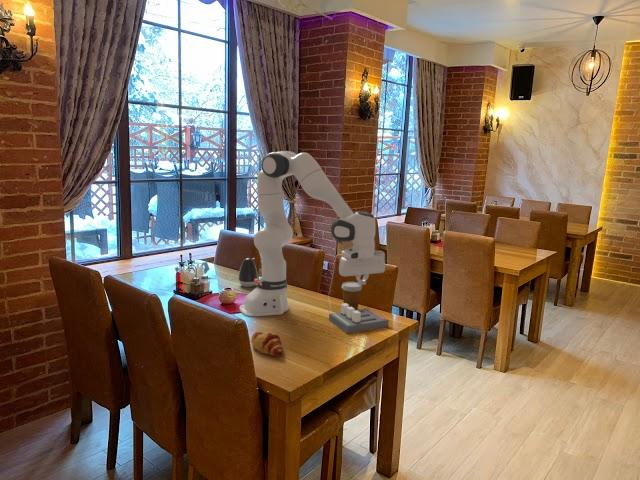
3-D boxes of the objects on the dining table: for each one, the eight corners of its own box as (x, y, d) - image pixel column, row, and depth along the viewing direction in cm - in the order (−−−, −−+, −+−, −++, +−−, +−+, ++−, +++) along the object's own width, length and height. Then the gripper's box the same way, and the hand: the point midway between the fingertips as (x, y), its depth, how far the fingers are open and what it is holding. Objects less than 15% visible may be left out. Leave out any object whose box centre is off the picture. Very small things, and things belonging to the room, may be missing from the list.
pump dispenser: (262, 285, 255) (262, 257, 252) (249, 289, 247) (249, 261, 244) (247, 281, 260) (247, 254, 258) (234, 286, 252) (234, 258, 249)
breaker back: (343, 314, 205) (344, 305, 204) (340, 312, 207) (341, 303, 206) (348, 313, 206) (349, 305, 205) (345, 311, 208) (345, 303, 207)
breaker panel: (346, 333, 193) (347, 326, 193) (328, 320, 207) (329, 313, 207) (388, 326, 202) (388, 319, 201) (368, 314, 216) (368, 307, 215)
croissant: (247, 348, 185) (238, 333, 181) (267, 332, 189) (259, 317, 185) (275, 369, 168) (265, 352, 164) (296, 350, 172) (287, 334, 168)
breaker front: (355, 322, 196) (355, 313, 195) (351, 320, 198) (352, 311, 198) (360, 321, 197) (360, 312, 196) (356, 319, 199) (357, 310, 199)
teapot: (202, 284, 254) (201, 264, 252) (174, 282, 255) (173, 263, 253) (210, 276, 269) (209, 257, 267) (184, 275, 270) (183, 256, 268)
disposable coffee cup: (359, 313, 217) (360, 288, 214) (339, 311, 218) (340, 286, 216) (362, 306, 226) (363, 282, 223) (342, 304, 228) (343, 280, 225)
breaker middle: (349, 318, 200) (349, 309, 200) (346, 316, 203) (346, 307, 202) (354, 317, 201) (354, 308, 201) (351, 315, 204) (351, 306, 203)
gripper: (380, 248, 200) (378, 280, 203) (337, 251, 191) (336, 284, 194) (389, 251, 194) (387, 284, 197) (345, 255, 186) (343, 289, 188)
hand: (361, 284), depth 196 cm, fingers closed
